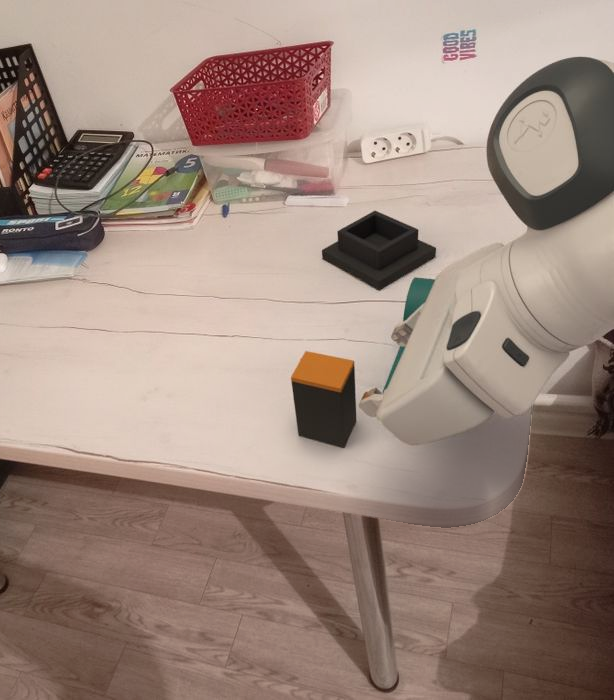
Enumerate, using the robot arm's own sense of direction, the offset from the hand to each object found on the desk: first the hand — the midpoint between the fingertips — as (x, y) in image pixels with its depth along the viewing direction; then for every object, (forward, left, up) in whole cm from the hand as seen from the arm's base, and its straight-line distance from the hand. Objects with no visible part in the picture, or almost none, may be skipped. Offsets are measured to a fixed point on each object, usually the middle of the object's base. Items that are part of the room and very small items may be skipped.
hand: (382, 370), depth 58 cm
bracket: (-4, -10, -10) cm, 14 cm away
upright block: (+6, 0, -10) cm, 11 cm away
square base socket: (+4, -32, -10) cm, 34 cm away
